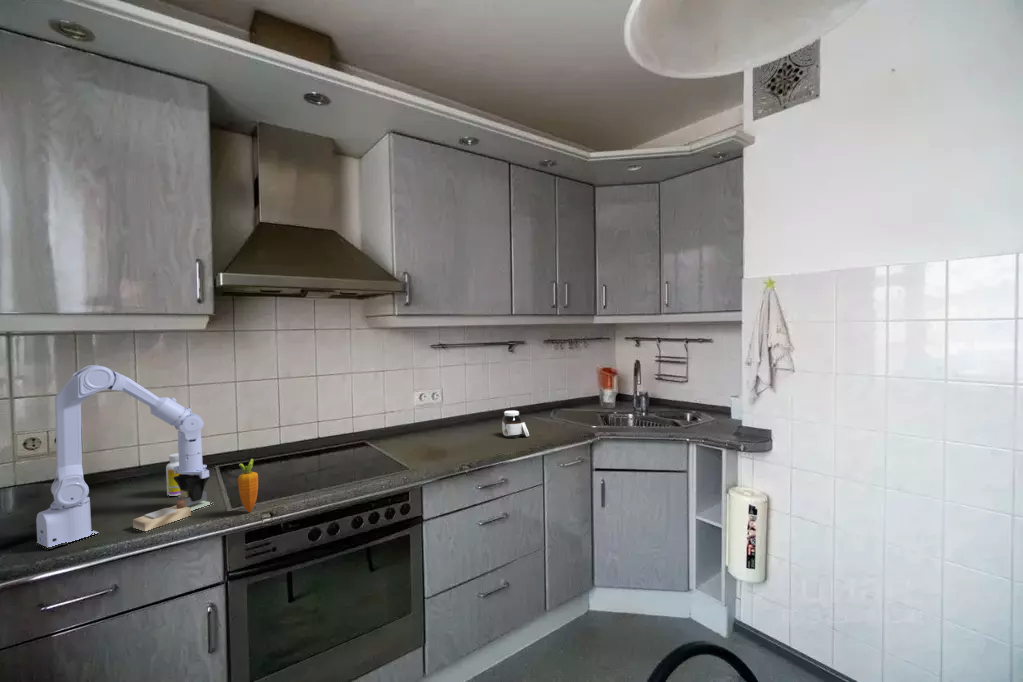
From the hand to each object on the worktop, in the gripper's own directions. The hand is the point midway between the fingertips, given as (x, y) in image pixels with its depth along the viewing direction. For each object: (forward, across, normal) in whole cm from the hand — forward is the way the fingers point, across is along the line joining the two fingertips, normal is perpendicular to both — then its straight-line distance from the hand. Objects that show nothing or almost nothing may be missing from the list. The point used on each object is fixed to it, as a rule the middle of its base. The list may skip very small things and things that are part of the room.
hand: (192, 499), depth 135 cm
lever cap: (+1, 0, 0) cm, 1 cm away
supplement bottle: (+2, +16, -5) cm, 17 cm away
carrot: (+2, -20, -4) cm, 21 cm away
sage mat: (+2, 0, 0) cm, 2 cm away
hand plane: (+2, -4, +10) cm, 11 cm away
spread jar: (+2, -52, -113) cm, 124 cm away
